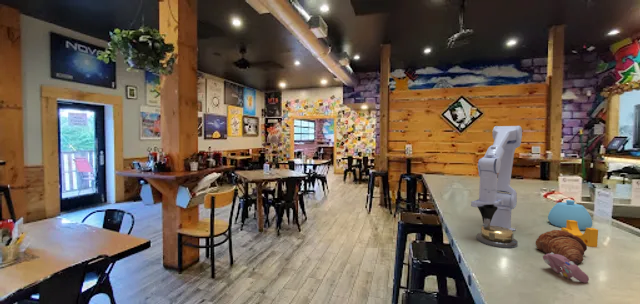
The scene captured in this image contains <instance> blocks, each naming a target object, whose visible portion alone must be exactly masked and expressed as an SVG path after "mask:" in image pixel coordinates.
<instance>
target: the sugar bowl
mask: <svg viewBox="0 0 640 304" xmlns="http://www.w3.org/2000/svg"><path fill="white" fill-rule="evenodd" d="M567 220H574V221H577V224H578V228H579V230H580V231H585V230H586V228H593V219H592V216H591V215H590V213H589V211H588V210H587V209H586V207H585V206H584V205H582V204H579V203H576V201H575V200H573V199H566V200H565V202H557V203H556V204H555V205H553V207H552V208H551V209H550V210H549V213H548V216H547V221H548V222H549V223H551V225H552V226H554V227H555V226H556V227H558V228H560V229H561V228H566V223H567Z"/></svg>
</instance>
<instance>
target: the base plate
mask: <svg viewBox="0 0 640 304" xmlns="http://www.w3.org/2000/svg"><path fill="white" fill-rule="evenodd" d="M476 240H477V241H478V242H480V243H481V244H484V245H485V246H490V247H494V248H501V249H513V248H517V247H518V243H519V242H518V240H517V239H515V238H514V239H513V241H512V242H496V241H492V240H488V239H486V238H484V237H482V236H481V232H479V233H477V234H476Z"/></svg>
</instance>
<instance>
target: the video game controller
mask: <svg viewBox="0 0 640 304" xmlns="http://www.w3.org/2000/svg"><path fill="white" fill-rule="evenodd" d="M542 259H543V261H544V263H545V264H546V265H548V266H549V267H550V268H551V270H553V272H555V273H556V274H560V273H561V275H562V276H563V277H564V278H566V279H568V280H570V279H572V278H574V279H575V280H576V281H579V282H581V283H584V284H585V283H588V282H589V280H590V277H589V276H588V274H587V273H586V272H584V271H583V270H582V269H581V268H580V267H579V266H578V264H577V265H576V264H574V262H572V261H570V260H568V259H567V258H566V257H564V256H562V255H559V254H554V253H552V252H551V253H548V254H546V253H545V254H544V255H542Z"/></svg>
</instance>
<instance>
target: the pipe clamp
mask: <svg viewBox="0 0 640 304" xmlns="http://www.w3.org/2000/svg"><path fill="white" fill-rule="evenodd" d="M560 229H561V231H566V232H569V233H572V234H573V235H575V236H578V237H579V238H581V239H582V240H583V241H584V242H585V244H586V246H587V247H589V248H598V239H599V238H598V236H599V229H597V228H594V227H591V228H586V230H584V233H583V232H582V231H581V230H579V228H578V224H577V221H574V220H567V223H566V228H561V227H560Z"/></svg>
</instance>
